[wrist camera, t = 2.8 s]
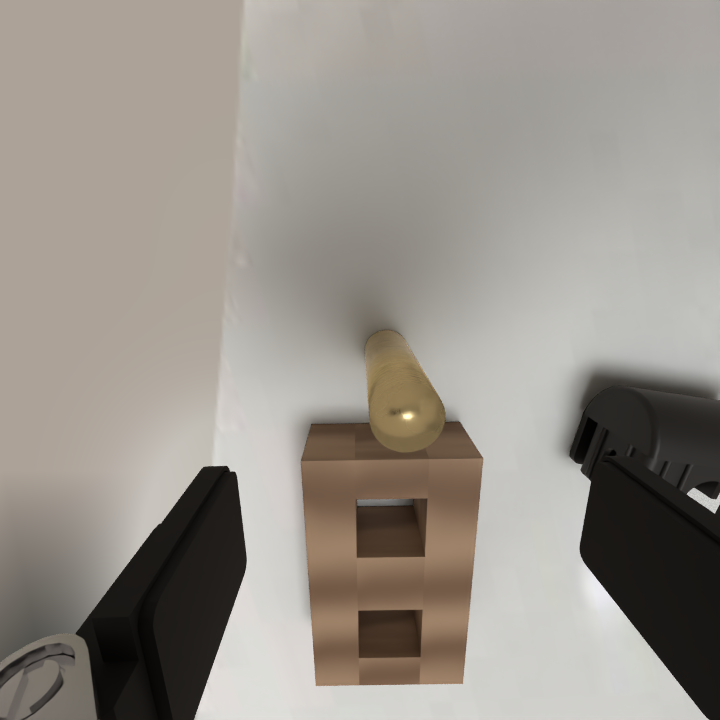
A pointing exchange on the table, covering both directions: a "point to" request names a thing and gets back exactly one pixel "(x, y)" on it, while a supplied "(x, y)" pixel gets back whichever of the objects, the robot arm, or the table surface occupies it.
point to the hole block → (389, 555)
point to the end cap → (654, 435)
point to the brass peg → (400, 395)
